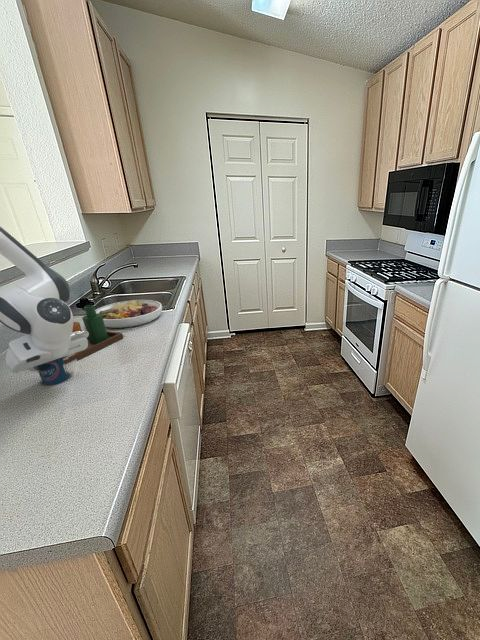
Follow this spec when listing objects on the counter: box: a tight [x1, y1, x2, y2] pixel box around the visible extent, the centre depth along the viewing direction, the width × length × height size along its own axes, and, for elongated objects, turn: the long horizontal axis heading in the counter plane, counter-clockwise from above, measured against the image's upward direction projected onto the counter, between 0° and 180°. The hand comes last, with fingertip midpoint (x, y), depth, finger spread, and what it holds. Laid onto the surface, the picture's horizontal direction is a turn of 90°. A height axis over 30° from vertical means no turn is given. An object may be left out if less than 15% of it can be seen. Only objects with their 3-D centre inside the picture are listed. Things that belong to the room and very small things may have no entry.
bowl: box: [95, 299, 163, 329], centre depth 157 cm, size 30×30×8 cm
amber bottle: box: [72, 321, 88, 355], centre depth 122 cm, size 7×7×15 cm
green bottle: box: [81, 304, 109, 344], centre depth 131 cm, size 7×7×15 cm
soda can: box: [36, 358, 70, 386], centre depth 103 cm, size 7×7×12 cm
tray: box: [63, 330, 124, 365], centre depth 125 cm, size 32×13×2 cm, turn 162°
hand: (48, 363), depth 103 cm, fingers closed on soda can, 7 cm apart
